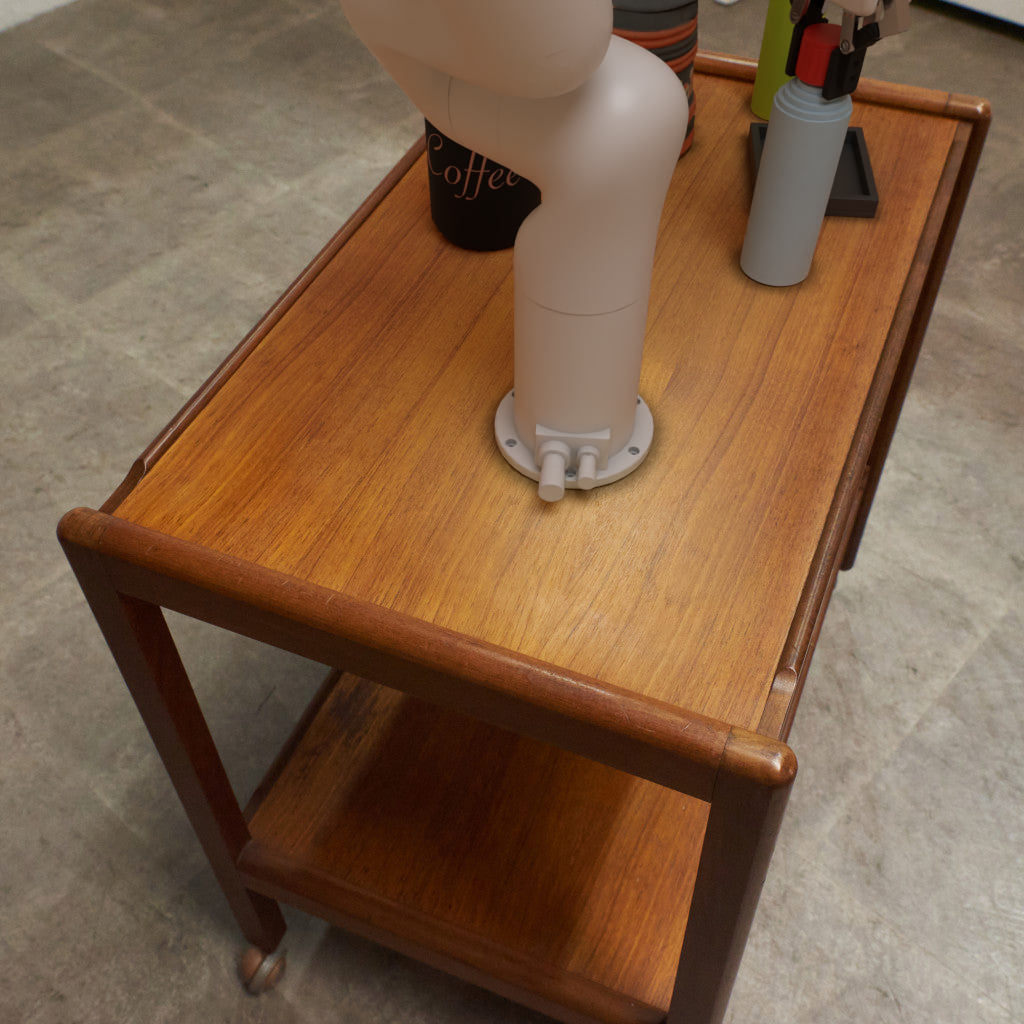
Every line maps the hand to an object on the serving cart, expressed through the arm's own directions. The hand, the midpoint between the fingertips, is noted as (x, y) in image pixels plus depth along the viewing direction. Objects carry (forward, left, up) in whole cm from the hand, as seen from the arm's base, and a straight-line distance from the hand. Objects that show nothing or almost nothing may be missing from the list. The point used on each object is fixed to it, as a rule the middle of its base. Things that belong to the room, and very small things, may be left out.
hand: (820, 81), depth 86 cm
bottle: (0, 0, -18) cm, 18 cm away
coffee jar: (+4, +28, -18) cm, 34 cm away
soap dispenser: (+29, -2, -18) cm, 34 cm away
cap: (0, 0, +1) cm, 1 cm away
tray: (+15, -4, -18) cm, 24 cm away
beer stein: (+22, +17, -18) cm, 33 cm away
